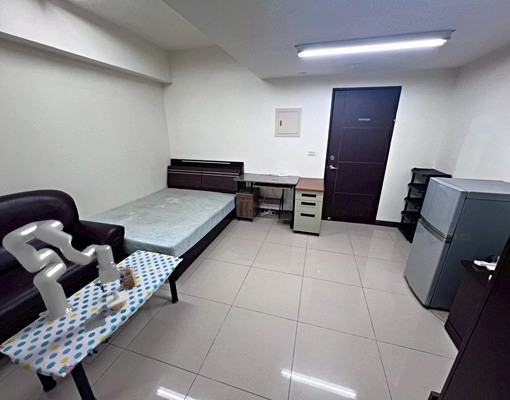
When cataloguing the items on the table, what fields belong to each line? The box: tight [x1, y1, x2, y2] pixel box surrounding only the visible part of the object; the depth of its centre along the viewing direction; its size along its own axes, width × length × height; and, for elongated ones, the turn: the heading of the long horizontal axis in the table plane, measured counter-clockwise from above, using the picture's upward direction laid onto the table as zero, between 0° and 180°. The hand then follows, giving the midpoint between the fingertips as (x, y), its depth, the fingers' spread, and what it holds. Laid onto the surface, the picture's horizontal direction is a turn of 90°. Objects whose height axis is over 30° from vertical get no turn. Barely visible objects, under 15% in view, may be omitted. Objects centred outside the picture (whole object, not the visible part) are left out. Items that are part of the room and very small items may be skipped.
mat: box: [84, 311, 107, 334], centre depth 131 cm, size 10×12×1 cm
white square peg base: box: [106, 289, 128, 309], centre depth 141 cm, size 11×11×6 cm
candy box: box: [118, 266, 138, 289], centre depth 159 cm, size 9×4×15 cm, turn 98°
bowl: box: [110, 301, 127, 311], centre depth 143 cm, size 9×9×5 cm
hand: (112, 287), depth 139 cm, fingers open, 9 cm apart
